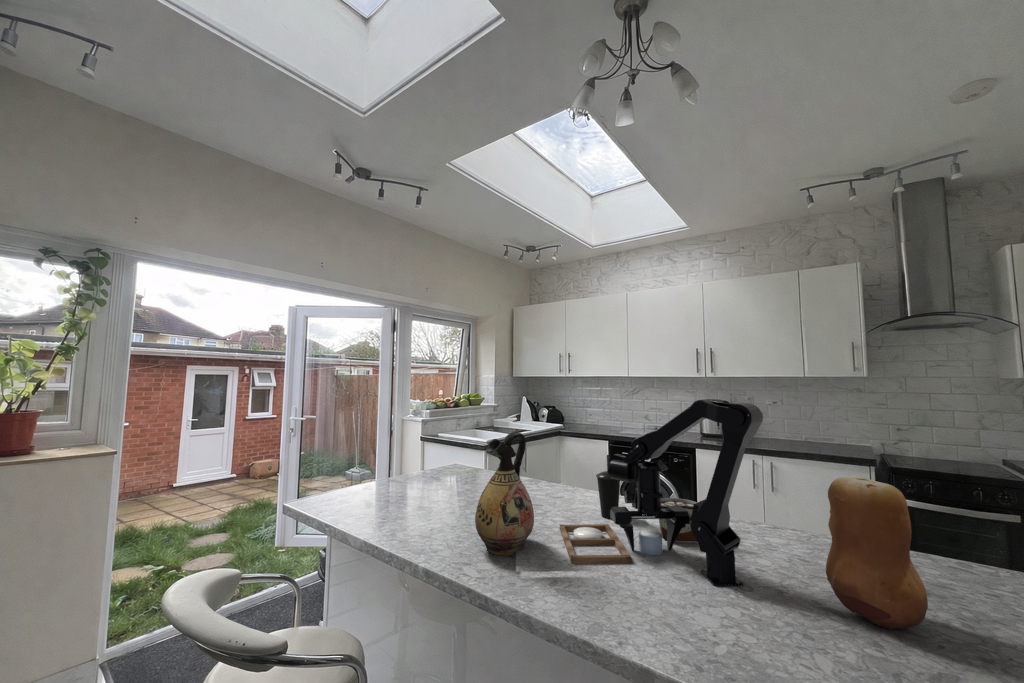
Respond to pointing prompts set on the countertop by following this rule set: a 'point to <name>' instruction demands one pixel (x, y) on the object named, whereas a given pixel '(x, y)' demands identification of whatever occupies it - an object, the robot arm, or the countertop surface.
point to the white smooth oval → (587, 533)
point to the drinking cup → (607, 492)
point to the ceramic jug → (505, 501)
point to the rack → (595, 541)
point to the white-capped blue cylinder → (650, 542)
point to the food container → (685, 532)
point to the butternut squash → (873, 553)
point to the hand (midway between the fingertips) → (650, 550)
